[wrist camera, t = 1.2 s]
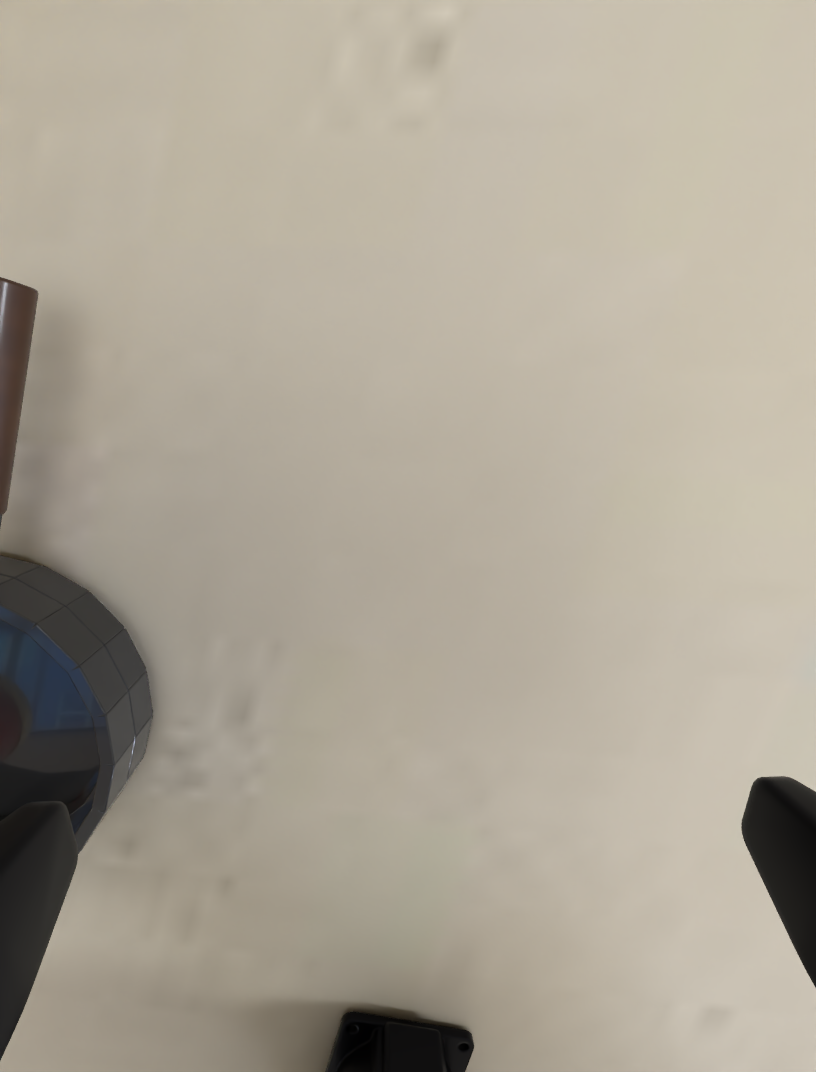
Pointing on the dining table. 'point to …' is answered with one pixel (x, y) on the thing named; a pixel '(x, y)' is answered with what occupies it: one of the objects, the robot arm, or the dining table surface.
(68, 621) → the pan
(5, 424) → the pan handle
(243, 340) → the dining table surface
